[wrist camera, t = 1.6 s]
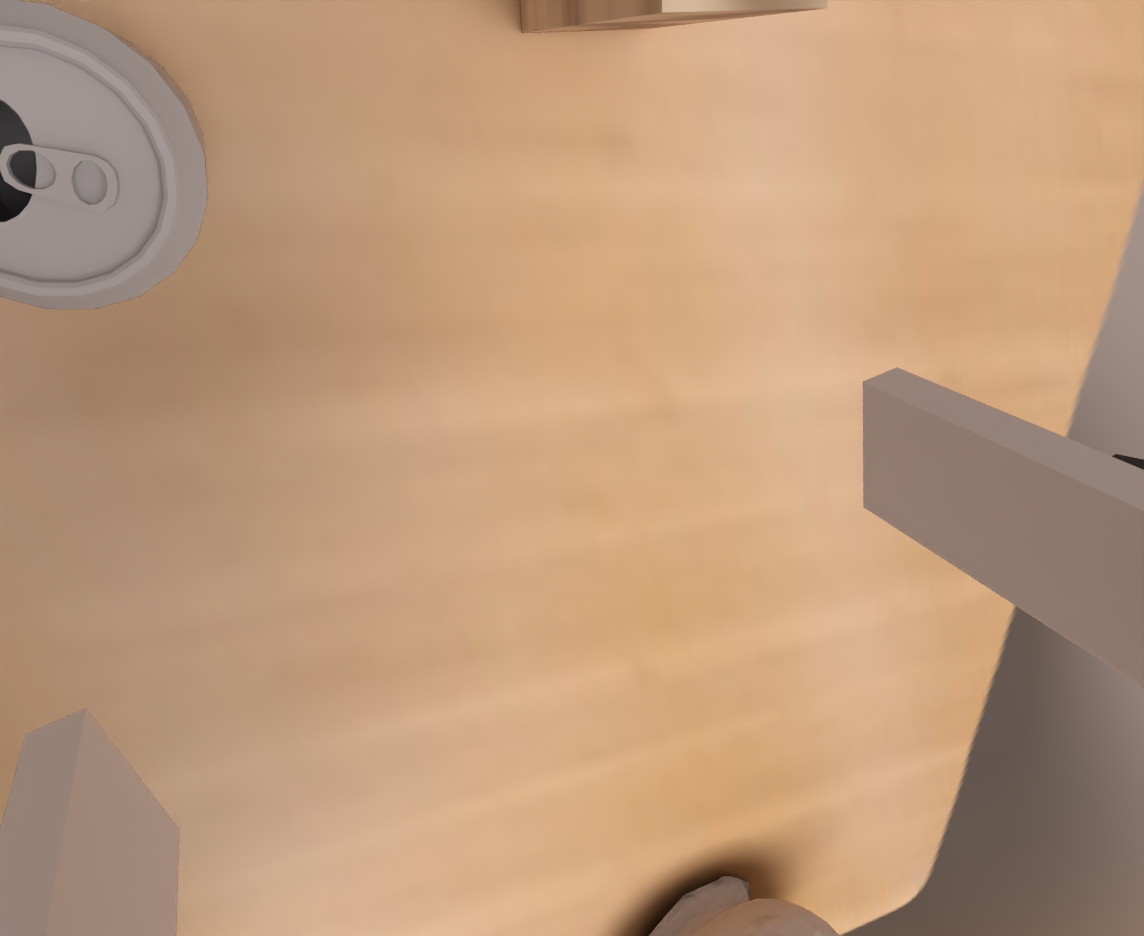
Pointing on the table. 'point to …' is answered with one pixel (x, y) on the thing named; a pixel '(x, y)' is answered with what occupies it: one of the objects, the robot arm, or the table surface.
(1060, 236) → the table surface
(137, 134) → the can
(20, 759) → the robot arm
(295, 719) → the table surface
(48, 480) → the table surface
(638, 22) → the kraft box
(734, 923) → the ceramic pitcher
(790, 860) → the table surface
